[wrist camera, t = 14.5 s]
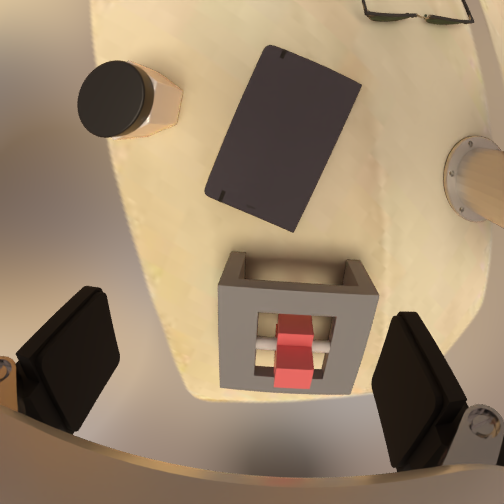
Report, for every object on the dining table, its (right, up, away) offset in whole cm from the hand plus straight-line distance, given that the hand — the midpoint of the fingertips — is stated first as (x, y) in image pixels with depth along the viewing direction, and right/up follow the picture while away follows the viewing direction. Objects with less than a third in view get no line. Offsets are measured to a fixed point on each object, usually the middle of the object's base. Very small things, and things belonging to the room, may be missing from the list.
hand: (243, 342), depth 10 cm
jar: (-13, +22, +28) cm, 38 cm away
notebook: (+4, +17, +28) cm, 34 cm away
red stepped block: (+6, -6, +34) cm, 35 cm away
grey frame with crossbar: (+6, -5, +36) cm, 37 cm away
